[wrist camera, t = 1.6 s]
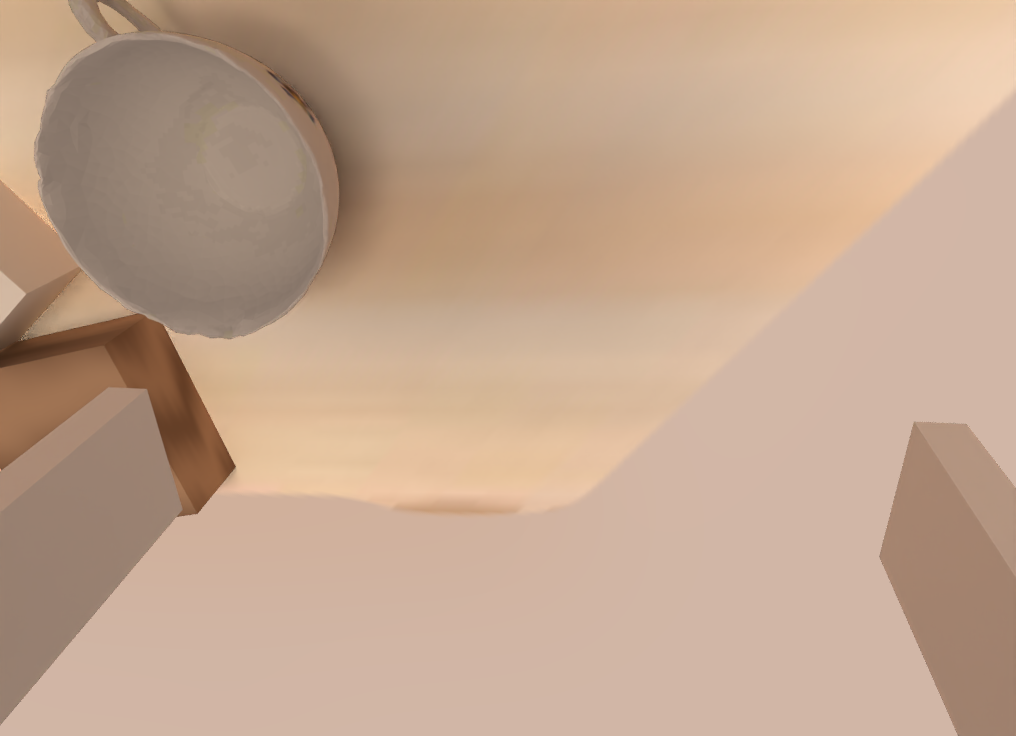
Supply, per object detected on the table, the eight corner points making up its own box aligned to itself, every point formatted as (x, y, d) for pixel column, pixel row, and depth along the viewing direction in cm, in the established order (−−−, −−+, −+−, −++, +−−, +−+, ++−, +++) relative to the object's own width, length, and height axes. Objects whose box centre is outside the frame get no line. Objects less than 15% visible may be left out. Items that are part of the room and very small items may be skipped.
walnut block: (8, 342, 45) (-59, 381, 41) (158, 307, 42) (103, 345, 38) (97, 487, 50) (45, 535, 45) (237, 464, 47) (197, 513, 42)
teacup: (425, 227, 37) (378, 283, 30) (232, 309, 41) (151, 375, 34) (268, -86, 32) (167, -106, 25) (63, 42, 36) (-75, 56, 29)
